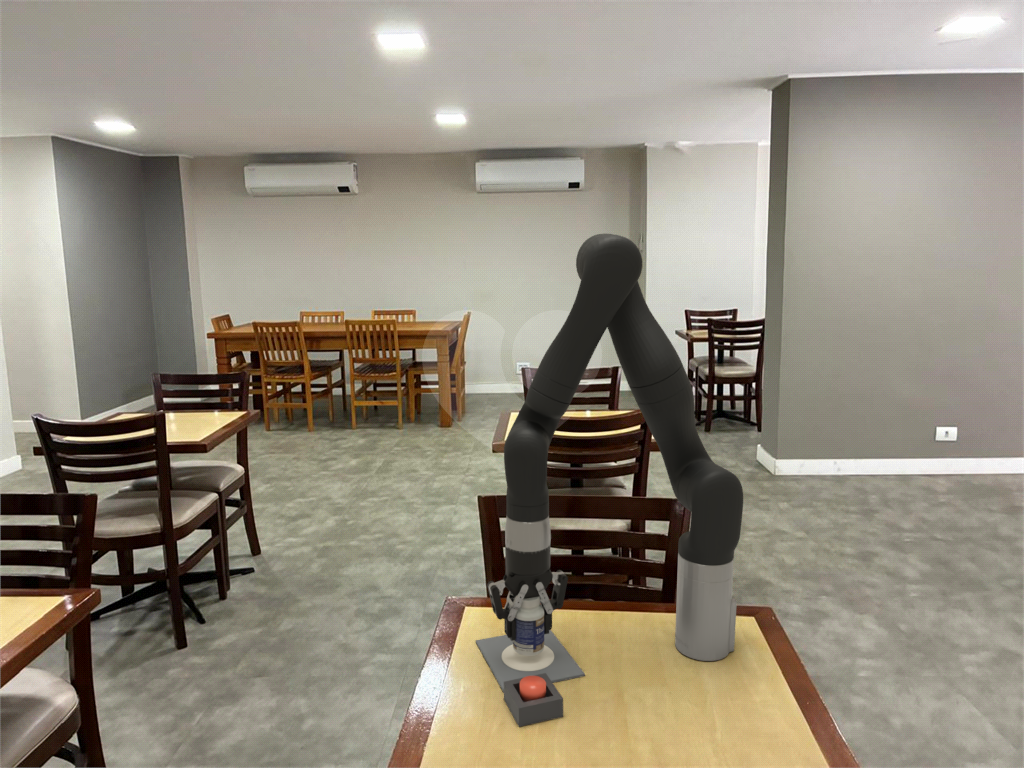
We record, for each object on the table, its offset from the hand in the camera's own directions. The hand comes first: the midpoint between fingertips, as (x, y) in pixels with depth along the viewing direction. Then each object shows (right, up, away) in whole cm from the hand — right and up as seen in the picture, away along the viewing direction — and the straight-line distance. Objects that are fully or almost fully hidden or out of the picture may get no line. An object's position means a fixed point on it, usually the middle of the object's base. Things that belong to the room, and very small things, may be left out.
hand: (528, 634), depth 120 cm
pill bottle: (0, -3, 0) cm, 3 cm away
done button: (0, -5, -13) cm, 14 cm away
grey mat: (0, -4, +1) cm, 4 cm away
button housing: (0, -7, -13) cm, 14 cm away
